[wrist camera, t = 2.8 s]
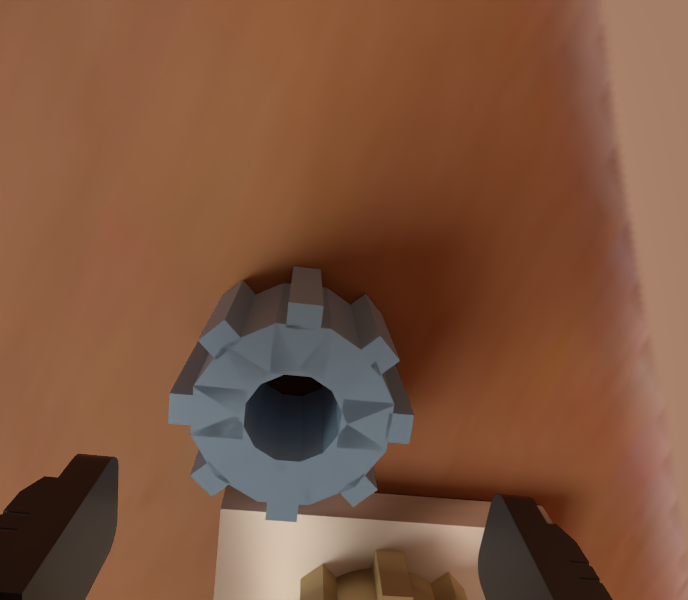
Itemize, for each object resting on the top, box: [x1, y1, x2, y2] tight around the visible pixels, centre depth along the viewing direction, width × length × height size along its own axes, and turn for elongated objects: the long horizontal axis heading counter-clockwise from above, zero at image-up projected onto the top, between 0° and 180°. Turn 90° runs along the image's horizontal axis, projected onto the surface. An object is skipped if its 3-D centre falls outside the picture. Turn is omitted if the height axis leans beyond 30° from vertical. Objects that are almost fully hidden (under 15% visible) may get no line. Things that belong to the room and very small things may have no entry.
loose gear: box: [168, 266, 414, 522], centre depth 17 cm, size 7×7×4 cm
